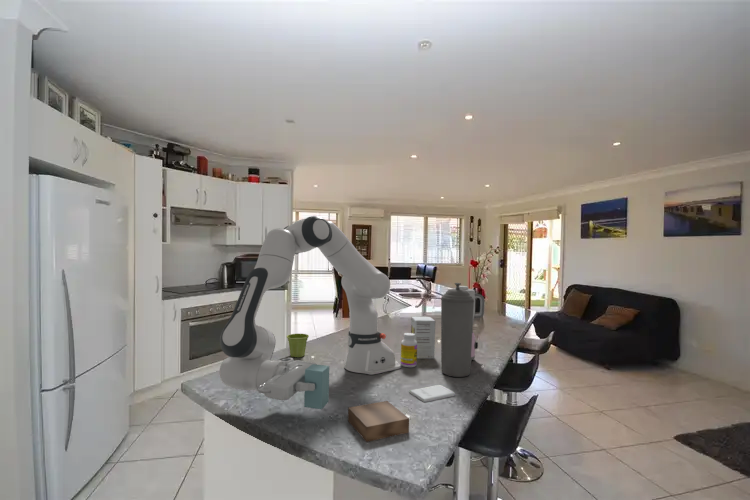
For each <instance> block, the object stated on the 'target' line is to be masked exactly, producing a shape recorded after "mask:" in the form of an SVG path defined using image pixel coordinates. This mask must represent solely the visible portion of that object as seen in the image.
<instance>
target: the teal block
mask: <svg viewBox="0 0 750 500" xmlns="http://www.w3.org/2000/svg"><path fill="white" fill-rule="evenodd" d="M316 364H317V363H315V364H312V365H311V366H309V367H308V368H307V369H305V383H309V382H315V383H316V389H315V390H314V391H309V390H308V391H304V393H303V394H304V398H303V407H304V408H308V409H314V410H315V409H316V410H322V409H324V408H325V406H326V405H327V404H329V401H330V400H329V399H330V398H329V396H330V395H329V394H330V366H329V365H324V364H317V365H316Z"/></svg>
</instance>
